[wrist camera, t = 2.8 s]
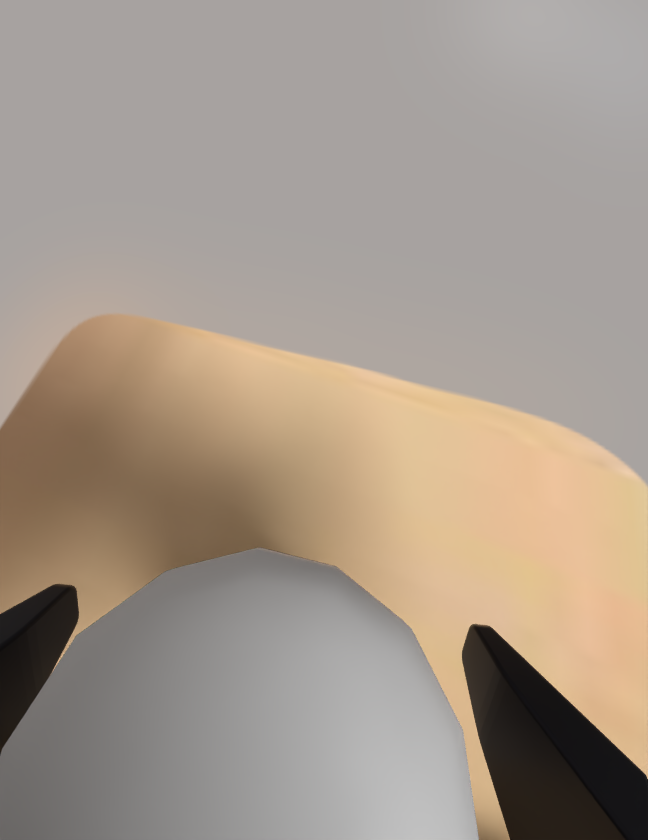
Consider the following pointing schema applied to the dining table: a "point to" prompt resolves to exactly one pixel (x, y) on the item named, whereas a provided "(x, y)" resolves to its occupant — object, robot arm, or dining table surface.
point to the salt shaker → (240, 718)
